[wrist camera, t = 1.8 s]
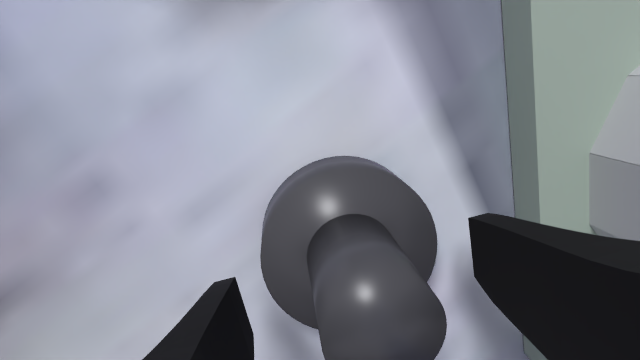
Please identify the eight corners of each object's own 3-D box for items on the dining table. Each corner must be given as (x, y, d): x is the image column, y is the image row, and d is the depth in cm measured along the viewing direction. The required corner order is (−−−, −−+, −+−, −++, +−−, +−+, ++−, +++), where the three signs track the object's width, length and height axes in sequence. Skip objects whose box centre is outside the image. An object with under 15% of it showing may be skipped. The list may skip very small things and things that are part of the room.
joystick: (425, 279, 16) (514, 399, 10) (283, 315, 15) (289, 462, 9) (404, 139, 14) (497, 185, 8) (243, 177, 13) (221, 253, 8)
